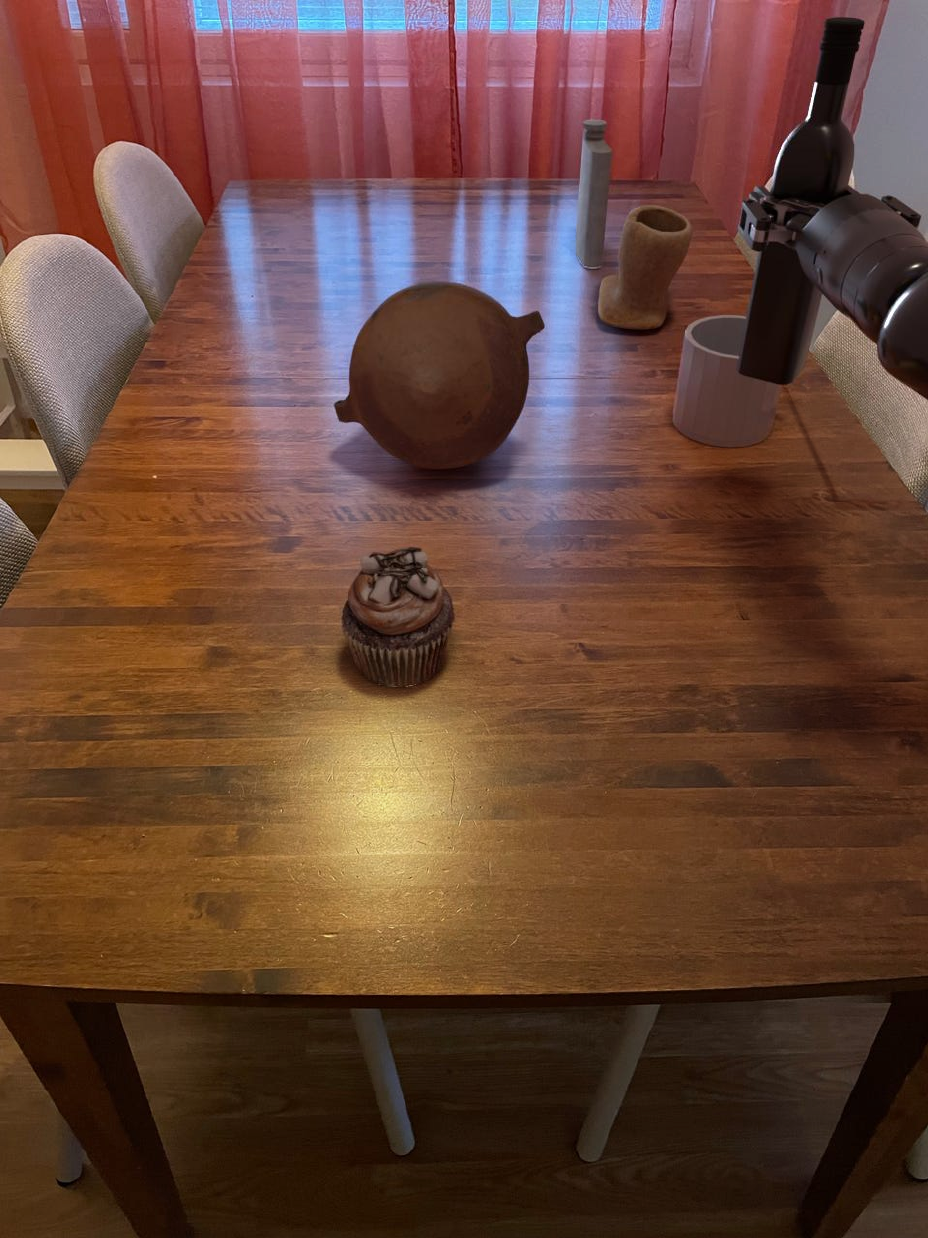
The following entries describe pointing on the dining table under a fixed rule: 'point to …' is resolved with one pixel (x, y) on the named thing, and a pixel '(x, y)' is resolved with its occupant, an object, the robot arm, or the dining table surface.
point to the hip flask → (593, 194)
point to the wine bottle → (810, 173)
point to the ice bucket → (721, 388)
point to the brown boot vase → (644, 268)
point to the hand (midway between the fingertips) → (797, 196)
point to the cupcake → (398, 618)
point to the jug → (439, 374)
